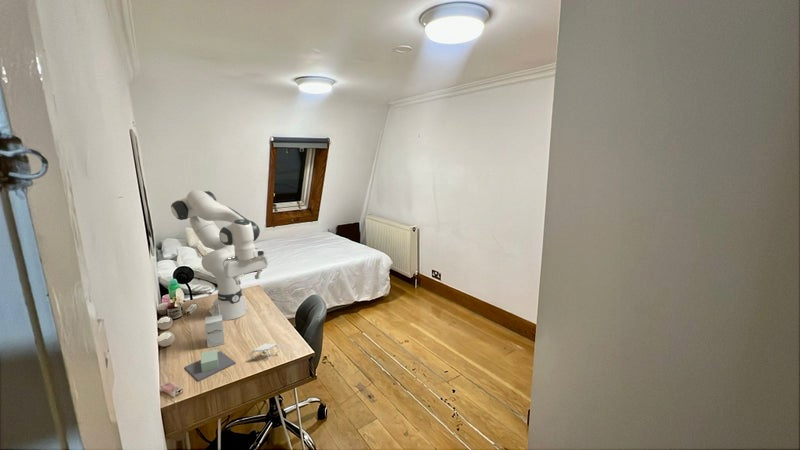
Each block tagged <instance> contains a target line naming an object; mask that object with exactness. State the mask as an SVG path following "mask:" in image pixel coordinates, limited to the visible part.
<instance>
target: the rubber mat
mask: <svg viewBox="0 0 800 450" xmlns="http://www.w3.org/2000/svg"><path fill="white" fill-rule="evenodd" d="M217 353H218V368H217V369H213V370H209V371H205V372H202V368H201V359H199V360H197V361H195V362H192V363H190V364H188V365H185V366H184V369H185V370H186V371H187V372H188V373H189V374H191V376H192V377H193V378H194V379H196V381H198V382H201V381H203V380H205V379H207V378H209V377H211V376H213V375H214V374H217V373H219V372H221V371H223V370H225V369H228V368H229V367H231V366H234V365H236V363H237V362H235V360H233V359H232V358H231V357H230V356H228V355H227V354H226V353H224V352H222V350H220V351H217Z"/></svg>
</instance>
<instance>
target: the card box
mask: <svg viewBox="0 0 800 450" xmlns="http://www.w3.org/2000/svg"><path fill="white" fill-rule="evenodd" d="M217 352H218V348H216V349H215V348H214V349H210V350H207V351H202V352H201V354H200V355H201V357H200V360H201V368H202V372H205V371H209V370H213V369H217V368H218V353H217Z"/></svg>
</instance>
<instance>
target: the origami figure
mask: <svg viewBox="0 0 800 450" xmlns="http://www.w3.org/2000/svg"><path fill="white" fill-rule="evenodd" d="M274 348H277V352H275V355H277V356H278V355H279V353H280V352H281V349H280V346H279V345H278V343H268V342H265V343H264V344H262V345H260V346H258V347H256V348H255V349H252V351H251V352H250V354H248V356H249V357H251V358H252V359H253V360H255V359H256V357H254V356H252V355H253V354H254V353H261V352H264V353H267V359H270V354H271V351H270V350H271V349H274Z"/></svg>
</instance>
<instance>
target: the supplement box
mask: <svg viewBox="0 0 800 450" xmlns="http://www.w3.org/2000/svg"><path fill="white" fill-rule="evenodd" d="M223 321H224V320H222V314H221V315H215V316H212V315H211V316H205V317H204V327H205V335H206V336H205V337H206V346H207V348H208V349H209V348H212V347H215V346H220V345H225V343H226V342H225V330H224V323H223Z"/></svg>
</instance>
